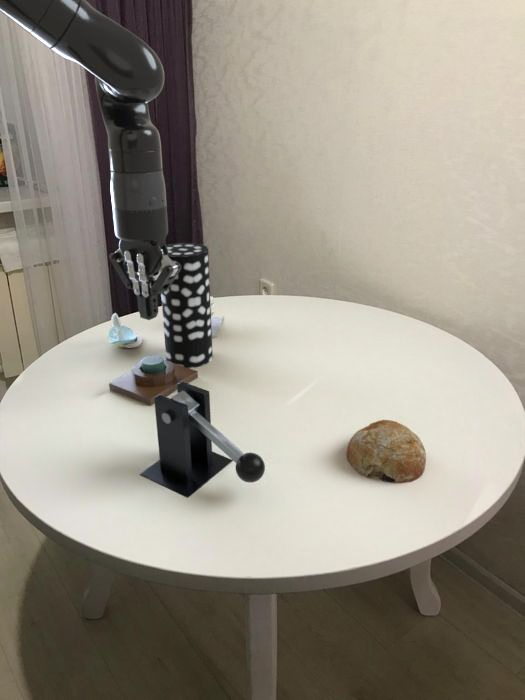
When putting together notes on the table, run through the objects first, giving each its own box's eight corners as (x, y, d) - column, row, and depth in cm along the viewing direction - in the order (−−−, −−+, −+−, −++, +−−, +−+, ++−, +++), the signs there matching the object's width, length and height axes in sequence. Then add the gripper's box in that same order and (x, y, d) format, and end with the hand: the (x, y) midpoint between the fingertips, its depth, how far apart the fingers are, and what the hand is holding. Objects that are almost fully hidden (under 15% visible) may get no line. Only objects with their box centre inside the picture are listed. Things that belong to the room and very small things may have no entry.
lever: (264, 478, 70) (274, 461, 68) (247, 493, 67) (258, 476, 65) (180, 403, 74) (187, 385, 72) (161, 415, 71) (168, 396, 69)
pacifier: (139, 334, 116) (108, 337, 114) (138, 304, 113) (106, 307, 111) (144, 350, 109) (111, 353, 108) (142, 318, 107) (108, 321, 105)
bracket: (233, 467, 77) (231, 388, 72) (188, 505, 70) (182, 421, 65) (186, 447, 81) (181, 371, 76) (139, 481, 74) (130, 400, 69)
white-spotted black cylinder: (158, 364, 104) (148, 254, 95) (178, 345, 111) (170, 241, 102) (202, 371, 101) (196, 258, 93) (219, 351, 109) (215, 245, 100)
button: (153, 376, 92) (152, 367, 91) (137, 371, 94) (136, 361, 93) (169, 368, 94) (168, 358, 94) (153, 362, 96) (152, 353, 96)
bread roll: (343, 499, 76) (347, 470, 70) (346, 431, 83) (349, 399, 77) (422, 506, 75) (432, 477, 69) (418, 437, 82) (427, 404, 75)
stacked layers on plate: (216, 337, 114) (215, 310, 112) (171, 335, 115) (169, 309, 112) (223, 317, 123) (222, 292, 121) (181, 316, 124) (179, 291, 122)
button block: (151, 412, 89) (149, 389, 87) (110, 395, 94) (107, 373, 92) (198, 383, 97) (197, 361, 96) (158, 369, 102) (156, 348, 100)
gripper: (192, 204, 82) (198, 319, 89) (126, 193, 89) (135, 302, 96) (155, 213, 76) (163, 335, 84) (86, 201, 83) (100, 315, 91)
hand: (148, 317), depth 90 cm, fingers closed
